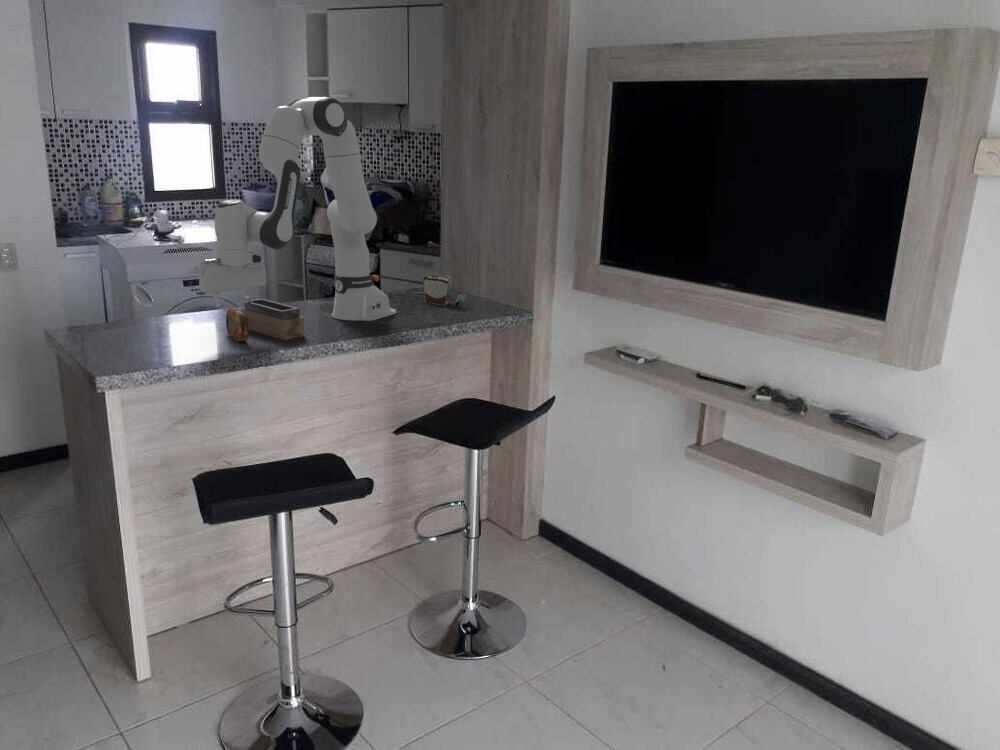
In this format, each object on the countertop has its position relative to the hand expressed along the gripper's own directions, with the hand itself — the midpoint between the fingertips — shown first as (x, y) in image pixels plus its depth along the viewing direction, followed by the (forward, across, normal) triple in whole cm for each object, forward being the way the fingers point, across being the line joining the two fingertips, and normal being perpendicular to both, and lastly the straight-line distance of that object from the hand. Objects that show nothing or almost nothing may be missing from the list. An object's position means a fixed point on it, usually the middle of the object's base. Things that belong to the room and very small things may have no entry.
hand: (234, 304), depth 236 cm
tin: (+11, +1, 0) cm, 11 cm away
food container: (+9, +83, -4) cm, 83 cm away
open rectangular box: (+10, +13, 0) cm, 16 cm away
